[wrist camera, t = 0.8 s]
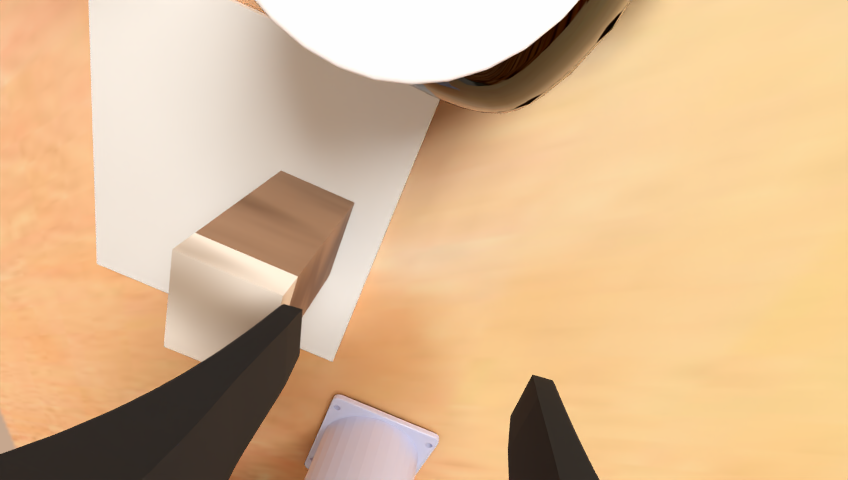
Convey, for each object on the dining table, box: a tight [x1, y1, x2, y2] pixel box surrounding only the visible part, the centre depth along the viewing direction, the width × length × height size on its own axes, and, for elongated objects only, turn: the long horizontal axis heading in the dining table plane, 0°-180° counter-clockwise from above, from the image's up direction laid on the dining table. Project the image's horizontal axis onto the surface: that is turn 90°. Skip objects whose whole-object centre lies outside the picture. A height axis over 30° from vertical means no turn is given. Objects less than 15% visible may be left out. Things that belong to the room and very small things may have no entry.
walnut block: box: [164, 171, 354, 362], centre depth 19 cm, size 5×4×8 cm
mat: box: [89, 0, 440, 362], centre depth 22 cm, size 18×16×1 cm
